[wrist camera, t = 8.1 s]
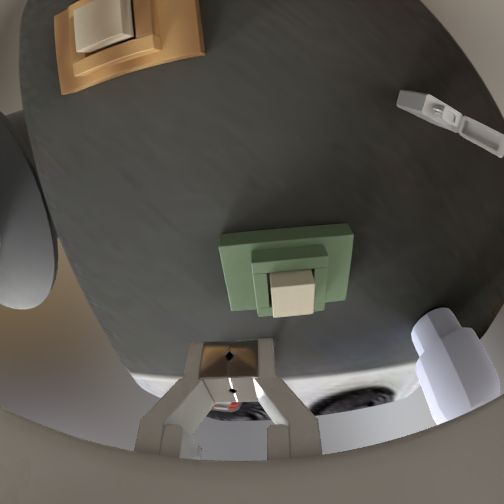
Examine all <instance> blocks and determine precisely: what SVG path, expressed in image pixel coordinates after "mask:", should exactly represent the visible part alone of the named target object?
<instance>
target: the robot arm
mask: <svg viewBox="0 0 504 504" xmlns="http://www.w3.org/2000/svg"><path fill="white" fill-rule="evenodd" d="M257 401H259V402H260V404H261V405H262V407H263V408H264V410H265V411H266V412H267V414H268V415H269V417H270V418H271V419H272V421H273V422H274V423H275V425H270V426H269V427H268V428H267V460H263V461H214V460H201V455H202V448H201V447H200V446H199V445H198V444H197V443H196V442H195V441H194V440H193V439H192V438H191V436H192V435H193V433H194V432H195V431H196V429H197V428H198V427H199V425H200V424H201V422H202V421H203V420H204V418H205V417H206V416H207V414H208V413H209V411H210V410H211V409H212V407H213V406H214V404H215V403H220V402H257ZM0 504H504V394H503V395H501V396H499V397H497V398H495V399H494V400H492V401H490V402H488V403H486V404H484V405H482V406H480V407H478V408H476V409H474V410H472V411H470V412H467V413H465V414H463V415H461V416H458V417H456V418H454V419H451V420H449V421H447V422H444V423H441V424H439V425H436V426H434V427H431V428H428V429H426V430H423V431H420V432H417V433H414V434H411V435H407V436H405V437H401V438H398V439H394V440H391V441H387V442H383V443H380V444H376V445H371V446H367V447H363V448H358V449H353V450H348V451H343V452H337V453H331V454H325V455H322V447H321V439H320V431H319V424H318V419H317V418H316V417H315V416H314V415H313V414H312V413H311V411H310V410H309V409H308V408H307V407H306V406H305V405H304V404H303V403H302V401H301V400H300V399H299V398H298V397H297V396H296V395H295V394H294V392H293V391H292V390H291V389H290V388H289V387H288V386H287V384H286V383H285V382H284V381H283V380H282V379H281V378H280V376H276V367H275V357H274V347H273V338H265V339H249V340H235V341H225V342H191V344H190V346H189V350H188V356H187V361H186V367H185V372H184V378H183V379H179V380H178V381H177V382H176V383H175V384H174V385H173V386H172V388H171V389H170V390H169V391H168V392H167V393H166V394H165V395H164V396H163V397H162V398H161V399H160V400H159V401H158V402H157V403H156V404H155V405H154V406H153V407H152V409H150V411H149V412H148V413H147V414H146V415H145V416H144V417H143V418H142V419H141V420H140V425H139V429H138V434H137V439H136V444H135V449H134V451H130V450H125V449H120V448H116V447H111V446H107V445H103V444H99V443H95V442H92V441H88V440H84V439H81V438H78V437H74V436H71V435H68V434H65V433H62V432H59V431H57V430H54V429H51V428H48V427H46V426H43V425H41V424H38V423H36V422H33V421H31V420H28V419H26V418H24V417H21V416H19V415H17V414H15V413H13V412H11V411H8V410H6V409H5V408H3V407H1V406H0Z"/></svg>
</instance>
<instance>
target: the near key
mask: <svg viewBox="0 0 504 504" xmlns="http://www.w3.org/2000/svg"><path fill="white" fill-rule="evenodd" d="M74 29H75V41H76V51H77V52H86V53H92V52H94V51H96V50H99V49H101V48H104V47H107V46H109V45H112V44H115V43H117V42H120V41H123V40H126V39H129V38H132V37H134V29H133V19H132V8H131V0H94V1H92V2H89V3H87V4H85V5H83V6H81V7H79V8H77V9H75V10H74Z"/></svg>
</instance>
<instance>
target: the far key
mask: <svg viewBox="0 0 504 504" xmlns="http://www.w3.org/2000/svg"><path fill="white" fill-rule="evenodd" d="M270 284H271V297H272V309H273V317H274V318H275V317H286V316H296V315H305V314H313V310H314V293H315V282H314V278H313V275H312V271H311V269H302V270H292V271H281V272H270Z"/></svg>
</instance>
